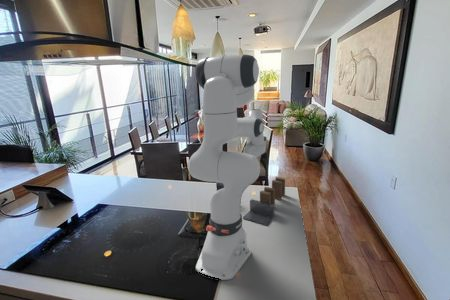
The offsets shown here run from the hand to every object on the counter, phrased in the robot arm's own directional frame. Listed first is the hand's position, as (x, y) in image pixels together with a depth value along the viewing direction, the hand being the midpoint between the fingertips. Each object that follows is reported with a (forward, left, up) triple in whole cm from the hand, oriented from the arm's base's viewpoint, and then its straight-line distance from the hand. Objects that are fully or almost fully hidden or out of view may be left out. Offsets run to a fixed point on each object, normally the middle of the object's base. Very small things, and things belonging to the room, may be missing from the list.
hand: (255, 164), depth 130 cm
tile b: (0, -12, -18) cm, 22 cm away
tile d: (-10, -10, -18) cm, 23 cm away
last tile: (-14, -9, -18) cm, 25 cm away
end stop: (-22, -7, -18) cm, 29 cm away
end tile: (+5, -13, -18) cm, 23 cm away
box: (-11, +14, -19) cm, 26 cm away
